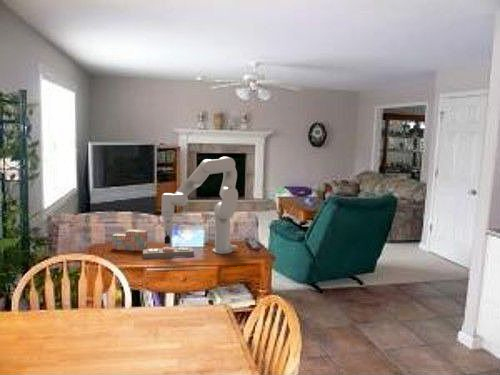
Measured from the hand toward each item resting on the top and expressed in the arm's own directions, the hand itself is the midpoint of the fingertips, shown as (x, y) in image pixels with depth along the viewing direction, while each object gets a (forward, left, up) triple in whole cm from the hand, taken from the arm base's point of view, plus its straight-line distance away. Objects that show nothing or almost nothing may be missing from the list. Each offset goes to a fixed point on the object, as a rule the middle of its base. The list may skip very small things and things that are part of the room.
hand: (167, 243), depth 269 cm
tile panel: (-1, 0, -7) cm, 7 cm away
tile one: (+8, 0, -6) cm, 10 cm away
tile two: (-10, 0, -6) cm, 11 cm away
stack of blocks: (+23, -19, -8) cm, 31 cm away
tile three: (-1, 0, -5) cm, 5 cm away
